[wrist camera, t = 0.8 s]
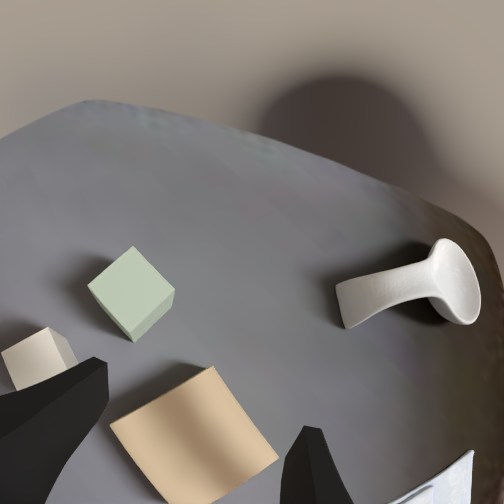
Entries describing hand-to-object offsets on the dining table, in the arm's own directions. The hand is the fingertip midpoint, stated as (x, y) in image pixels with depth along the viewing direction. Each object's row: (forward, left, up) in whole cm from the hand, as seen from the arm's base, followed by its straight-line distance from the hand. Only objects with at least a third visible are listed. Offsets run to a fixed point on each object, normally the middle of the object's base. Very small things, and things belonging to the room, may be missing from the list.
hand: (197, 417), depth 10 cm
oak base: (-1, -4, -15) cm, 15 cm away
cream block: (-8, +6, -15) cm, 18 cm away
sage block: (+1, +8, -15) cm, 17 cm away
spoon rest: (+29, -7, -15) cm, 33 cm away
